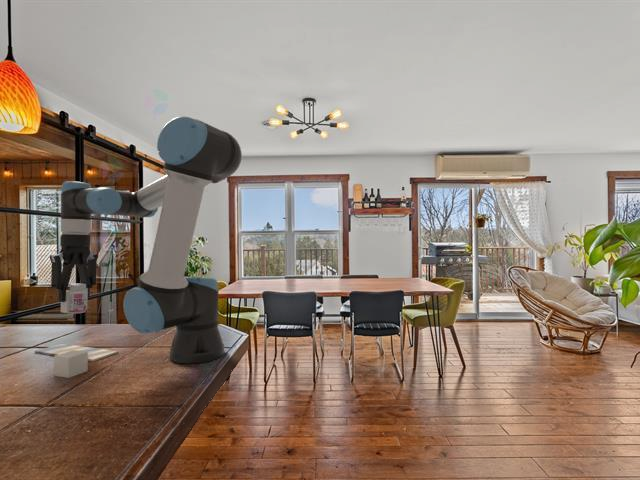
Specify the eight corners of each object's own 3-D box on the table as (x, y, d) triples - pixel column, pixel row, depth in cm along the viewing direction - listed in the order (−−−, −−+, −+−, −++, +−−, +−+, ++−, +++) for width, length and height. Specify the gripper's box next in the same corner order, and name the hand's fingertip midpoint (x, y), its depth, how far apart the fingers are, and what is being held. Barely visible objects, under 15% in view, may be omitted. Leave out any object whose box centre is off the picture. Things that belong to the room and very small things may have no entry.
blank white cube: (87, 371, 92) (87, 351, 92) (68, 378, 87) (68, 357, 87) (73, 369, 94) (73, 350, 94) (54, 375, 89) (54, 355, 89)
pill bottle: (73, 314, 104) (75, 285, 104) (63, 312, 106) (64, 284, 106) (89, 311, 108) (91, 284, 108) (79, 309, 110) (80, 282, 110)
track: (118, 353, 107) (118, 351, 107) (93, 361, 99) (93, 359, 99) (61, 345, 114) (61, 343, 114) (34, 352, 107) (34, 350, 107)
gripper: (94, 234, 117) (92, 304, 117) (35, 232, 100) (33, 315, 100) (111, 234, 114) (109, 306, 114) (53, 233, 97) (52, 318, 98)
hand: (74, 310), depth 107 cm, fingers closed on pill bottle, 5 cm apart
